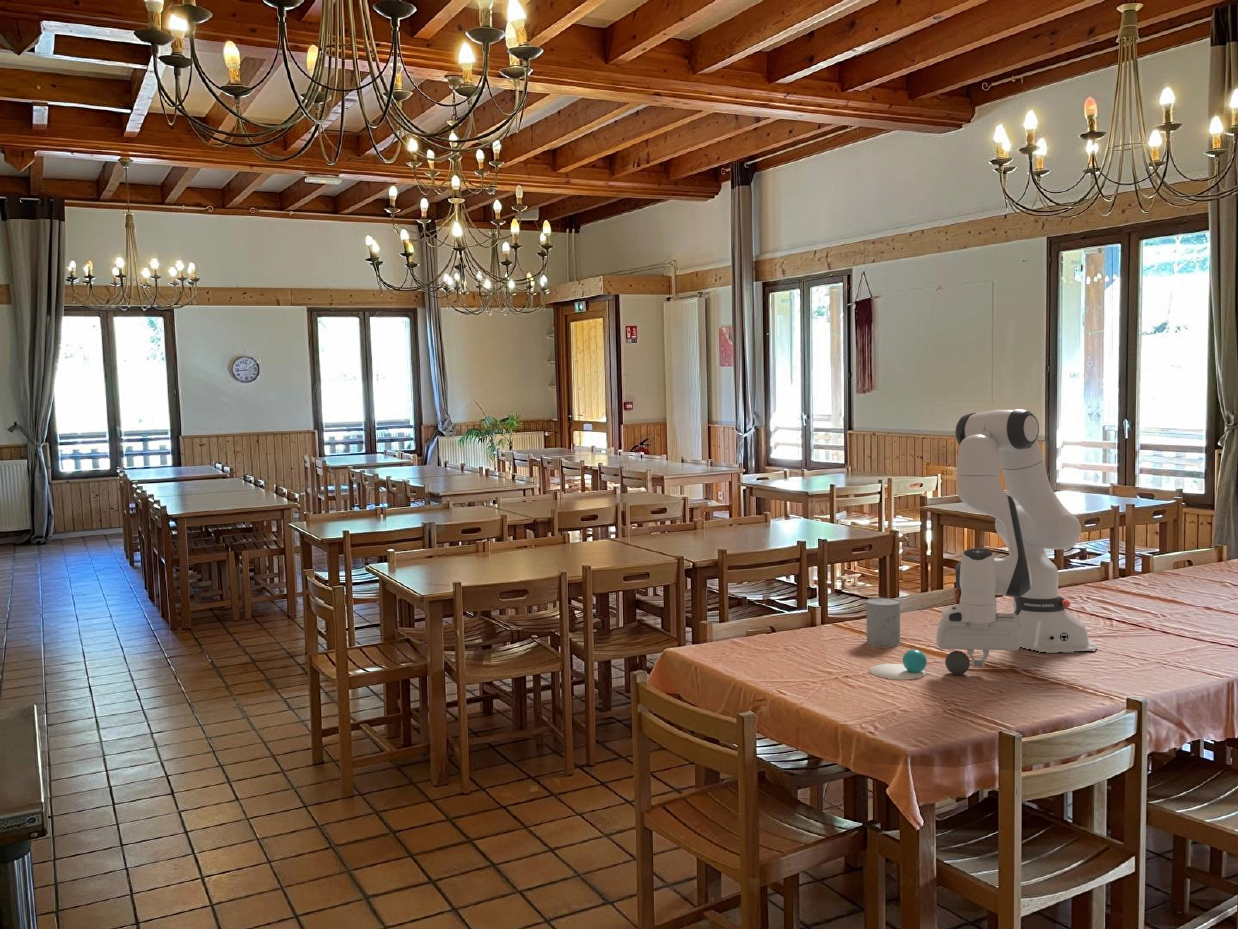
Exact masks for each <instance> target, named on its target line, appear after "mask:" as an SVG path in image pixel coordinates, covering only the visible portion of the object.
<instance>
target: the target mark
mask: <svg viewBox="0 0 1238 929" xmlns="http://www.w3.org/2000/svg"><path fill="white" fill-rule="evenodd" d="M869 672H870V674H871V675H873V676H874V677H875V676H876V677H878V678H882V679H886V678H888V679H887V680H895V681H896V680H897V681H907V680H909V679H910V680H916V679H915V678H917V679H920V678H923V677H925V675H926V671H925V669H924V670H922V671H921V672H918V673H912V672H910V671H908V670H907V669H906V668H905V667H904V665H903V663H883V664H878V665H876V664H875V665H874V666H871V667H870V668H869ZM922 676H923V677H922Z"/></svg>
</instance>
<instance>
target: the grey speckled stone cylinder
mask: <svg viewBox="0 0 1238 929" xmlns="http://www.w3.org/2000/svg"><path fill="white" fill-rule="evenodd" d="M865 603H866V608H865V609H866V644H867V645H869V646H870V647H875V648H883V647H886V648H887V649H888V648H895V647H899V646H901V601H900V600H899V599H895V598H889V597H873V598H868V599H866V600H865Z"/></svg>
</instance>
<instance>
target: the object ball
mask: <svg viewBox="0 0 1238 929" xmlns="http://www.w3.org/2000/svg"><path fill="white" fill-rule="evenodd" d="M902 664H903V665H904V667H905V668H906V669H907V670H908V671H910V672H912V673H918V672H921V671H922V670H924V671H925V669H926V667H927V664H928V661H927V657H926V655H925V654H924V653H923V651H921V650H919V649H915V648H913V649H909V650H907V651H906V652H905V653H904V654H903V657H902Z"/></svg>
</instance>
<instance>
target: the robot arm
mask: <svg viewBox="0 0 1238 929" xmlns="http://www.w3.org/2000/svg"><path fill="white" fill-rule="evenodd" d="M1039 425H1040V424H1039V421H1038V419H1037V417H1036V416H1035V415H1034V413H1032V412H1031V411H1030V410H1027V409H1020V408H1016V409H993V410H989V411H986V410H985V411H981V412H971V413H967V414H965V415H962V416H961V417H960V418H959V419H958V422H957V423H956V425H955V430H954V431H955V433H954V434H955V437H956V441H957V444H958V445H959V448H958V453H957V461H956V479H955V480H956V491H957V496H958V497H959V499H960V501H961V502H962V503H963V504H964V505H966V506H967V507H969V508H971V509H972V510H975V511H977V512H980V513H982V514H985V515H988V516H990V517H993V518H995V521H994V528H995V531H996V533H997V535H998V536H999V537H1000V538H1001V539H1002V541H1004V543H1005V544H1006V546H1007V549H1008V556H1007V557H995V556H994V553H993V552H992V551H991V550H989V549H986V548H981V547H974V548H968V549H965V550H964V551H963V552H962V555H961V559H960V561H958V563H956V564H955V567H954V569H955V586H956V588H958V589H959V590H960V591H961V594H960V598H959V604H956V605H952V606H948V607H945V608H942V610H941V619H940V620H939V622H938V625H937V630H936V645H937V646H938V648H939V649H941V650H966V652H967V654H968V657H970V659H971V667H975V668H977V667H978V668H979V667H982V668H985V661H986V660H987V658H988V657H989V656H990V651H1014V652H1016V651H1019V649H1021V648H1020V647H1023V648H1026V649H1025V650H1028V649H1031V650H1030V651H1033V650H1036V651H1039V652H1038V653H1040V652H1046V653H1045V654H1054V653H1058V652H1063V653H1075V652H1074V651H1093V650H1096V649H1097V650H1098V645H1097V643H1096V641H1094V640H1093V639H1091V638H1089V634H1088V630H1087V627H1086V625H1085V624H1084V623H1083V621H1081V620H1080V619H1079V618H1077V617H1076V616H1075V615H1074V614H1072V613H1071V612H1069V611H1068V610H1067V609H1066V608H1069V607H1070V606H1071V602H1070V601H1069V599H1066V598H1064V597H1062V596H1061V595H1059V570H1058V567H1057V566H1056V565H1055V563H1054V562H1052V560H1051V559H1050V558H1049V556H1048V555H1047V553H1046V550H1045V549H1048V550H1054V551H1055V550H1066V549H1071V548H1073V547H1075V546H1076V544H1077V543H1079V540H1080V538H1081V535H1082V525H1081V523H1080V520H1079V519H1078V518H1077V516H1076V515H1074V514H1072V513H1071V512H1070V511H1069V510H1068V509H1067V508H1066V506H1064V505H1063V503H1061V501H1060V499H1059V498H1058V497H1057V495H1056V493H1055V492H1054V489H1053V488H1052V486H1051V482H1050V480H1049V477H1048V473H1047V469H1046V465H1045V461H1044V457H1043V453H1042V452H1043V451H1042V449H1041V447H1040V444H1039V440H1038V436H1039V433H1040V426H1039ZM1001 472H1002V473H1001ZM1001 474H1002V476H1003V477H1001ZM1002 478H1003V480H1004V485H1005V489H1006V491H1007V493H1008V494H1007V493H1006V491H1005V490H1004V487H1003V484H1002ZM1015 501H1016V502H1017V503H1018V504H1019V505H1016V503H1015ZM997 595H999V596H1006V597H1013V604H1012V605H1013V613H1002V612H1001V613H999V612H997V599H996V596H997ZM1023 648H1022V649H1023ZM975 650H977V651H982V652H981V653H983V654H982V656H981V657H980V658H975V657H974V655H973V654H975ZM1097 650H1096V651H1097ZM1036 651H1035V652H1036ZM1058 654H1059V653H1058Z"/></svg>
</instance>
